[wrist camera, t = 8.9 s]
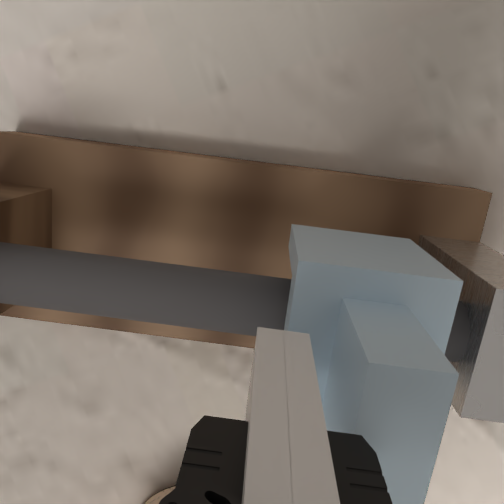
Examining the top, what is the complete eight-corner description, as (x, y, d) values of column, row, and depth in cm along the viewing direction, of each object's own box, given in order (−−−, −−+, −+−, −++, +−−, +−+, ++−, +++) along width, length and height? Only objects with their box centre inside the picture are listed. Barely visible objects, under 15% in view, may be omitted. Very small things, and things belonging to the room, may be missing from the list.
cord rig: (19, 302, 27) (-125, 397, 17) (15, 131, 24) (-158, 131, 14) (432, 355, 26) (523, 484, 17) (474, 188, 24) (611, 227, 14)
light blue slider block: (273, 351, 20) (272, 531, 11) (291, 224, 19) (308, 312, 10) (381, 365, 20) (471, 558, 11) (409, 238, 19) (540, 342, 9)
